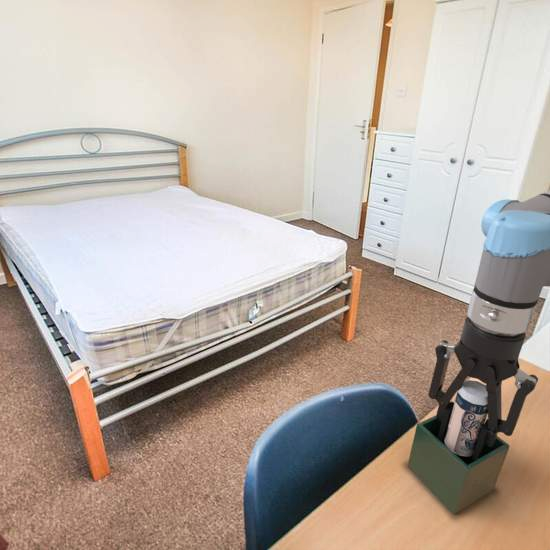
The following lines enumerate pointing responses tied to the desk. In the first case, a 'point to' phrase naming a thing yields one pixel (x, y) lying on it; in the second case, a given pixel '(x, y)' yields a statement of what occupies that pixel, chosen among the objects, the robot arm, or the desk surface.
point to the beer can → (467, 418)
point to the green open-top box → (454, 467)
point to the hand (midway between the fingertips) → (459, 445)
